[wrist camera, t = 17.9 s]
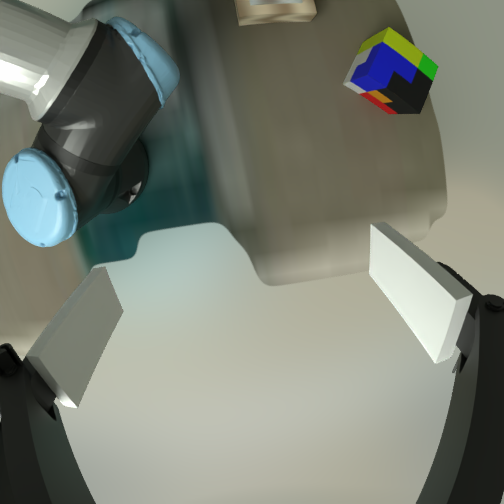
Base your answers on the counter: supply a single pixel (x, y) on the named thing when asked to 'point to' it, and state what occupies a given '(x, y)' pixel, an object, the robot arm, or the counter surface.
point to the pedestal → (274, 11)
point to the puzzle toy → (392, 73)
